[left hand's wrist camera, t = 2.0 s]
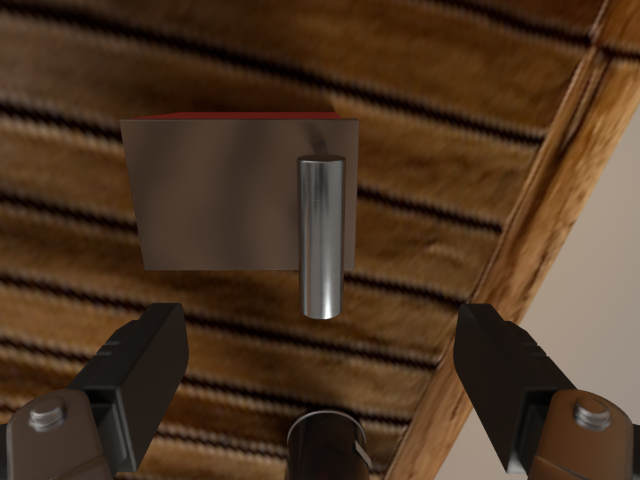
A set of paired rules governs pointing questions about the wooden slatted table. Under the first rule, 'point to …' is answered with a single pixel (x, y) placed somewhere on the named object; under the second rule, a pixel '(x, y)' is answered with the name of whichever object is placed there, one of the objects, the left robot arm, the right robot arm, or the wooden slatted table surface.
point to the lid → (248, 198)
